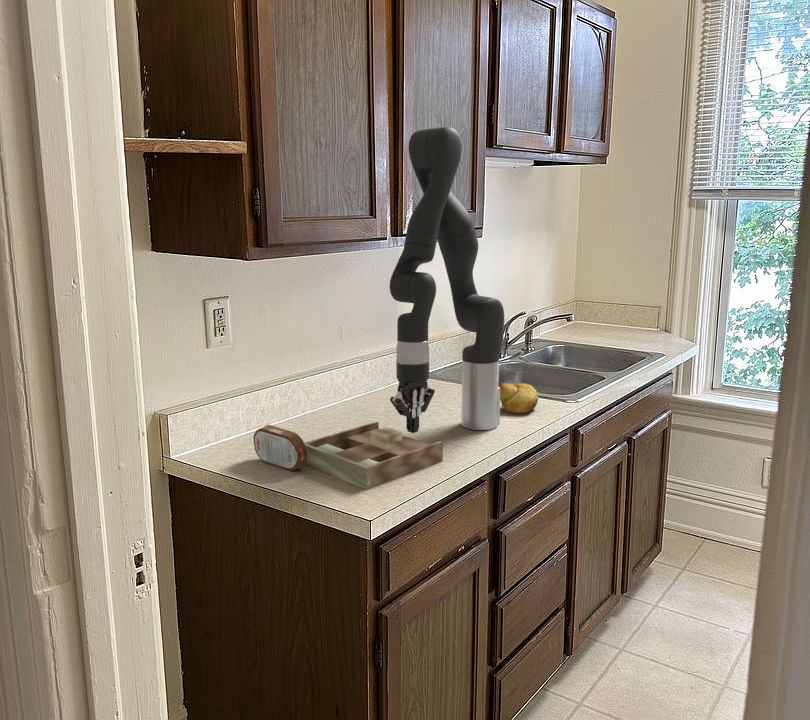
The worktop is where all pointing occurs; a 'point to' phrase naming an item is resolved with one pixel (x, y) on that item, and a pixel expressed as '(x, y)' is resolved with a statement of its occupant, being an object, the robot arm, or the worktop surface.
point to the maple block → (386, 438)
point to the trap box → (369, 456)
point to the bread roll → (518, 397)
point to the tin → (280, 447)
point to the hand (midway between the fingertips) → (412, 431)
